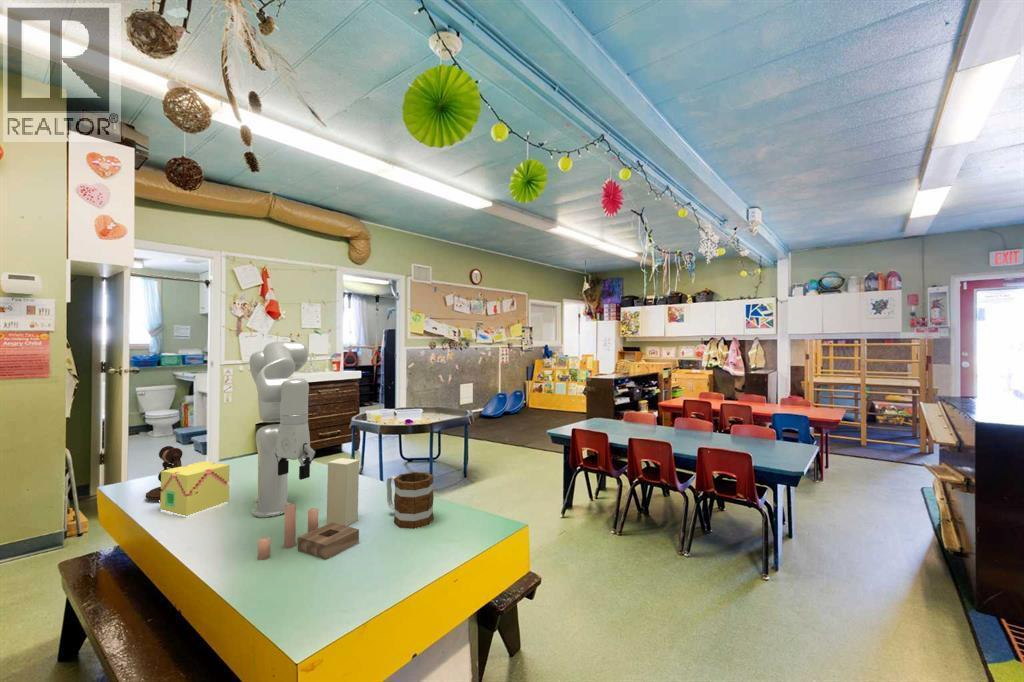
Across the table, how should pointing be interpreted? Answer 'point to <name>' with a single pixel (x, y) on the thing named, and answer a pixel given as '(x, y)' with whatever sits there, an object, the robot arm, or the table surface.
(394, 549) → the table surface
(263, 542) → the pin short
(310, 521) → the pin medium
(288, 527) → the pin long
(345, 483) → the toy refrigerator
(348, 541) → the hole block
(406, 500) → the mug
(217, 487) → the toy block
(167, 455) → the brown rounded figure
